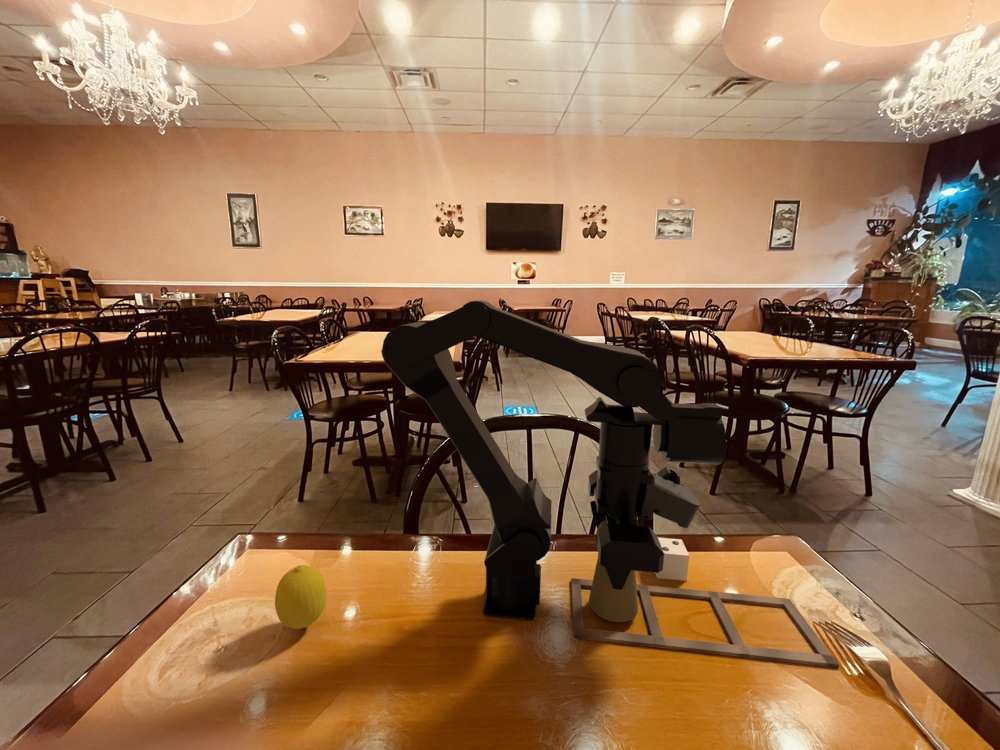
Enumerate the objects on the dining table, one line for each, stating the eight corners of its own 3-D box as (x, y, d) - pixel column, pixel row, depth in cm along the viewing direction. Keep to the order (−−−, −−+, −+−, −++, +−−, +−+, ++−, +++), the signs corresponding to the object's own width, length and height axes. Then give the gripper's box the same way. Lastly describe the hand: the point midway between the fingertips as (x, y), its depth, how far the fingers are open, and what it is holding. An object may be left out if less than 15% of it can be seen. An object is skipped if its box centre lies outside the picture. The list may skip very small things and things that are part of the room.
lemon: (337, 626, 51) (333, 566, 50) (289, 654, 47) (283, 589, 46) (316, 603, 55) (312, 546, 53) (270, 627, 51) (264, 567, 49)
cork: (640, 626, 50) (648, 541, 48) (588, 617, 51) (593, 534, 49) (635, 591, 56) (641, 514, 54) (588, 585, 57) (593, 509, 55)
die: (656, 578, 60) (659, 552, 60) (651, 561, 64) (653, 536, 63) (686, 581, 60) (689, 555, 59) (679, 563, 64) (681, 539, 63)
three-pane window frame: (573, 638, 50) (574, 634, 50) (571, 580, 60) (571, 578, 59) (838, 667, 46) (839, 664, 46) (788, 601, 56) (789, 598, 56)
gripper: (726, 499, 40) (709, 643, 43) (674, 435, 58) (664, 539, 61) (605, 491, 41) (596, 630, 44) (590, 431, 60) (585, 532, 62)
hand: (614, 575), depth 53 cm, fingers closed on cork, 4 cm apart
